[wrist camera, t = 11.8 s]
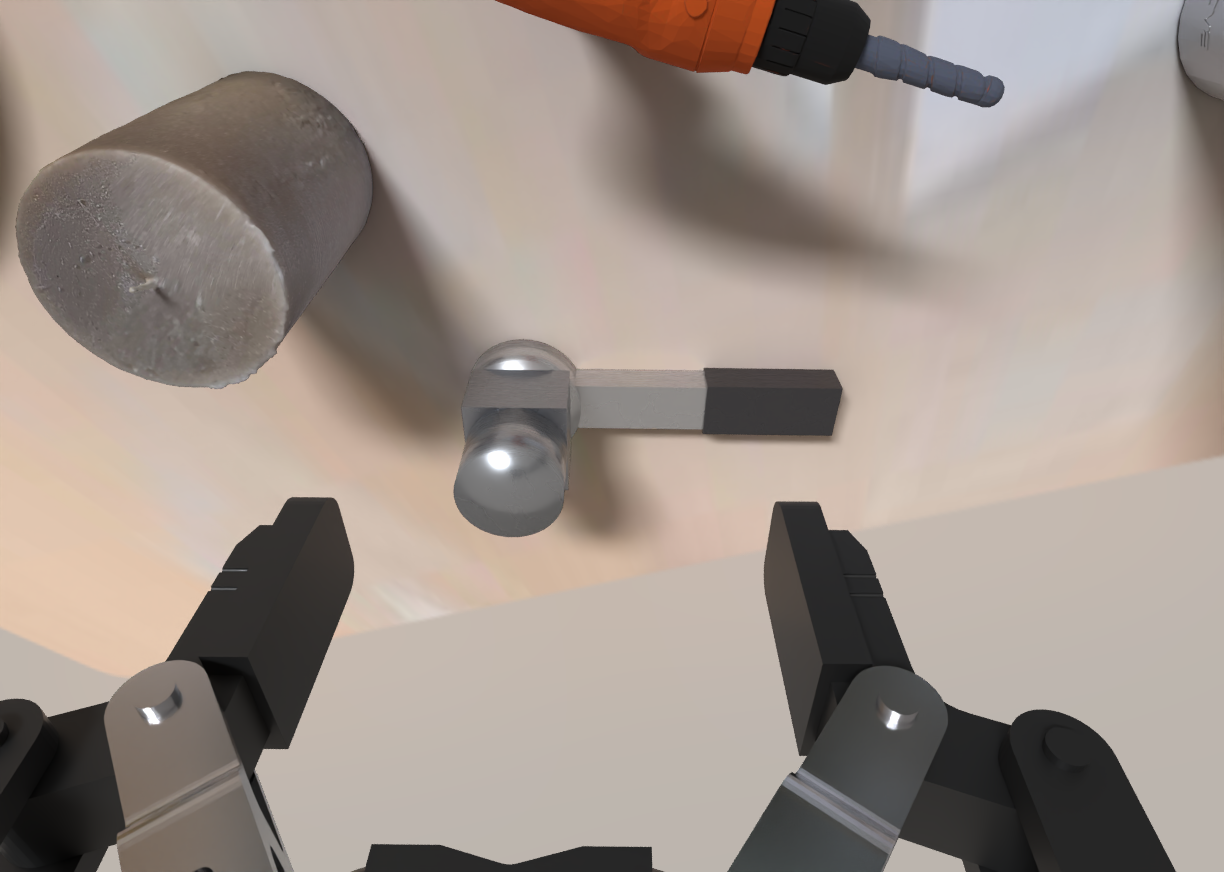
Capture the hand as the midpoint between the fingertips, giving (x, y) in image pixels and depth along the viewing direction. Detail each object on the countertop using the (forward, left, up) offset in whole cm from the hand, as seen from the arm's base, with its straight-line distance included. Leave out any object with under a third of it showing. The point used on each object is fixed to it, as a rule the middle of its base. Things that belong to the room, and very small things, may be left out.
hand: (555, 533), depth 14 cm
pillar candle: (+16, +2, -30) cm, 34 cm away
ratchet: (-4, +15, -29) cm, 33 cm away
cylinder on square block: (+4, +15, -27) cm, 31 cm away
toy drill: (-5, -7, -30) cm, 31 cm away
